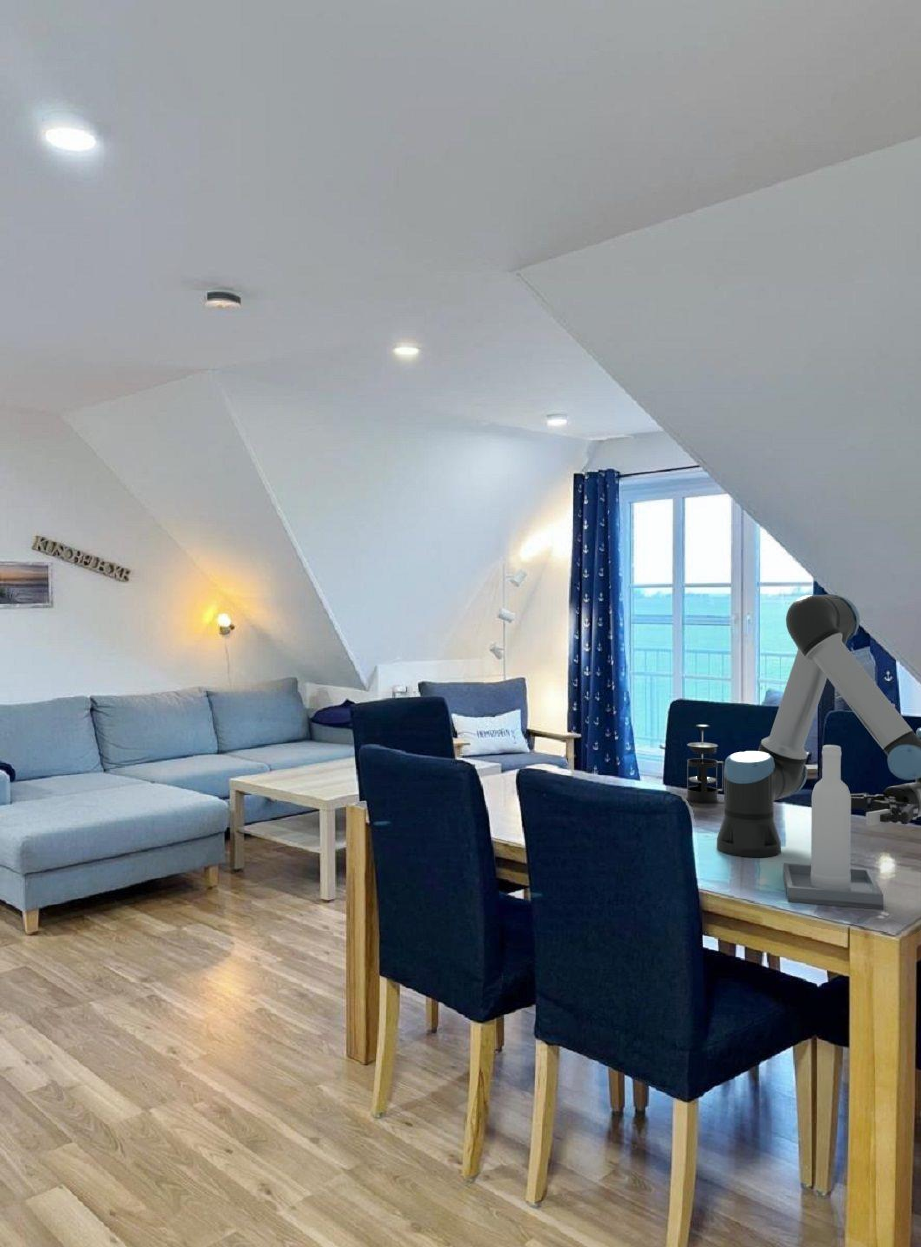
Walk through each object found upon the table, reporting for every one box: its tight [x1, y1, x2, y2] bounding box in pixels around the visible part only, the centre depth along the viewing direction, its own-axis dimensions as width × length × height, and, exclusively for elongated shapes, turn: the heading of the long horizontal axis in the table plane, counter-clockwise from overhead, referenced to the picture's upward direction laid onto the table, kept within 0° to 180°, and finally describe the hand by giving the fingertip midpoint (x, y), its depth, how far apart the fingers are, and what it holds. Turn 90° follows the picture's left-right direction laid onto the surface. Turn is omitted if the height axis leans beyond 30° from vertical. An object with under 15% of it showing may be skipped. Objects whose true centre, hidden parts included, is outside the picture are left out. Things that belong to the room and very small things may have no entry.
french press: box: [686, 724, 725, 804], centre depth 289 cm, size 12×9×23 cm
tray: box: [782, 862, 884, 910], centre depth 201 cm, size 18×18×3 cm
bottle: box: [810, 744, 852, 890], centre depth 200 cm, size 8×8×30 cm
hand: (839, 812), depth 201 cm, fingers open, 13 cm apart
